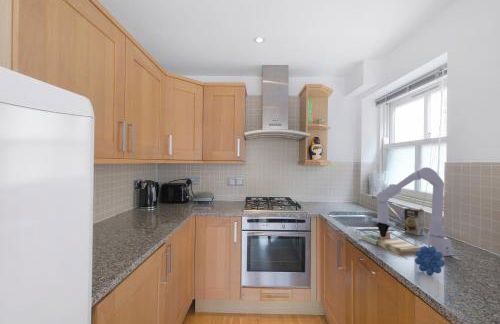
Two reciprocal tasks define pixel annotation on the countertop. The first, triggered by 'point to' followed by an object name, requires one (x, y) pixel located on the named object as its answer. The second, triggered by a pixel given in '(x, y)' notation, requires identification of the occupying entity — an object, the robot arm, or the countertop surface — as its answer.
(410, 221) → the coffee box
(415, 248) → the birch board
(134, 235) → the countertop surface
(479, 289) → the countertop surface
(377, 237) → the slate tile
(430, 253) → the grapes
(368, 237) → the tray
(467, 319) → the countertop surface
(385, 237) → the terracotta tile
